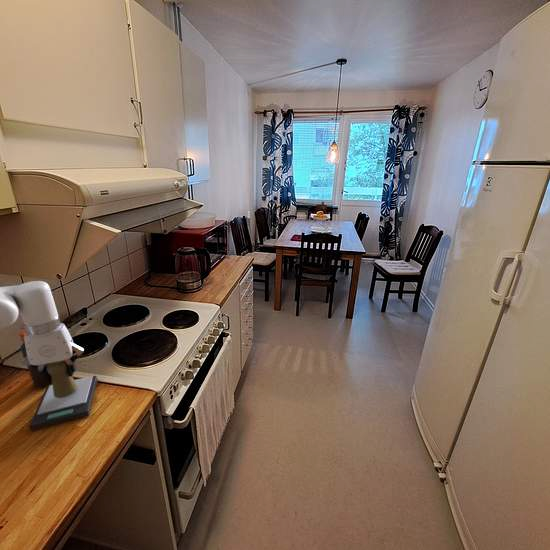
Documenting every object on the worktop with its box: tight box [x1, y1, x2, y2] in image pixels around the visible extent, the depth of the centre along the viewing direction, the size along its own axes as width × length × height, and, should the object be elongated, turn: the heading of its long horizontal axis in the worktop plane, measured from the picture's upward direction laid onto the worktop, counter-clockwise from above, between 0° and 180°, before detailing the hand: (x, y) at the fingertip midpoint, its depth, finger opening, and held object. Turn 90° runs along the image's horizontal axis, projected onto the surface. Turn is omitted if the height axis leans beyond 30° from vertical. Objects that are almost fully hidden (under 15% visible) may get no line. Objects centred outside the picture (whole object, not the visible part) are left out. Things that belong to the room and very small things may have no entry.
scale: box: [28, 375, 99, 432], centre depth 88 cm, size 14×16×2 cm
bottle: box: [18, 329, 52, 388], centre depth 94 cm, size 7×7×20 cm
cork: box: [47, 360, 77, 398], centre depth 86 cm, size 6×6×11 cm
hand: (60, 375), depth 86 cm, fingers closed on cork, 5 cm apart
